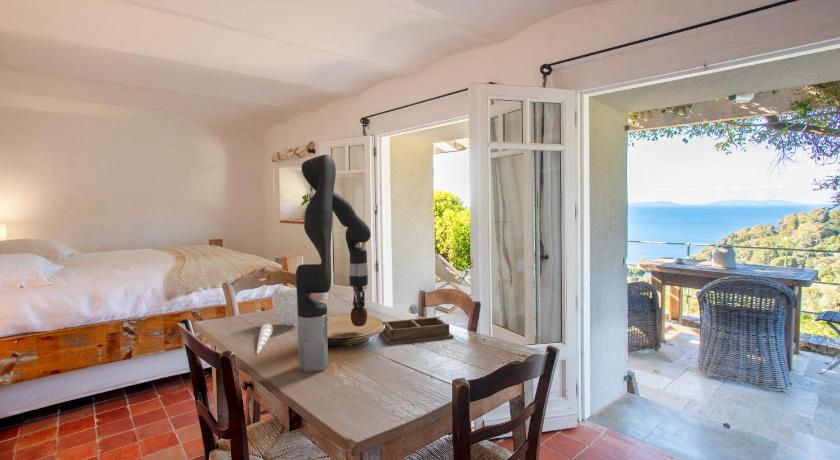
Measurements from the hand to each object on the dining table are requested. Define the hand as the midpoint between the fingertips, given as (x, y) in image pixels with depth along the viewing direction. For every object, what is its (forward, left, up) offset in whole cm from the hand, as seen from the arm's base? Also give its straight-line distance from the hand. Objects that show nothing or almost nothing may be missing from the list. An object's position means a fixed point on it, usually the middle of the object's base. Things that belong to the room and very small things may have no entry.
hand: (359, 313), depth 168 cm
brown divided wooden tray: (-12, -21, -8) cm, 25 cm away
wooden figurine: (0, 0, -5) cm, 5 cm away
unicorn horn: (-1, +37, -8) cm, 38 cm away
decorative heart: (+19, +27, -8) cm, 34 cm away
